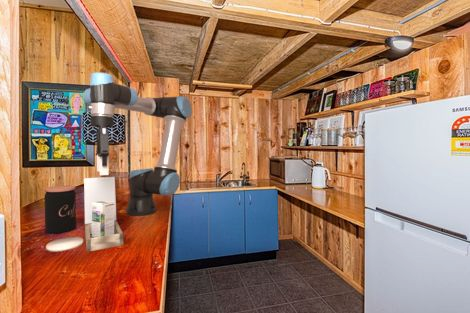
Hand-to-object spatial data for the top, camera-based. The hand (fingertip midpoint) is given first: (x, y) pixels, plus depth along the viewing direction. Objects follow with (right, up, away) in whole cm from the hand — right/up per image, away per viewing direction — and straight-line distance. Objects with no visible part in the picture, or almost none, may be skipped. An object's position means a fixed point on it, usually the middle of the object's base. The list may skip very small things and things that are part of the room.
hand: (102, 173), depth 94 cm
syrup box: (0, -26, +1) cm, 26 cm away
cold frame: (0, -25, +1) cm, 25 cm away
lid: (-6, -12, +11) cm, 17 cm away
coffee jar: (-23, -25, +11) cm, 35 cm away
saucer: (-11, -26, -4) cm, 28 cm away
